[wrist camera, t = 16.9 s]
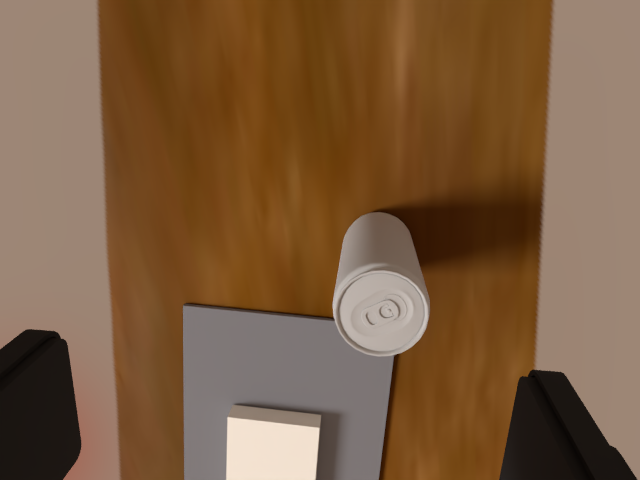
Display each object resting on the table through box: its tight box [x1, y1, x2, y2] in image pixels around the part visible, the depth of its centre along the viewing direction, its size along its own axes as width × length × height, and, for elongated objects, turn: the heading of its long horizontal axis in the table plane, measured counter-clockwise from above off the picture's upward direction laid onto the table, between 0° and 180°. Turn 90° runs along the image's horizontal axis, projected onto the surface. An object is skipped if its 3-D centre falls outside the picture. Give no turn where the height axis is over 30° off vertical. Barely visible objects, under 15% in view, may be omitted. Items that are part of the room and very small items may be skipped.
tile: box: [226, 405, 321, 480], centre depth 41 cm, size 2×7×9 cm
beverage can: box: [333, 212, 430, 357], centre depth 30 cm, size 5×5×12 cm
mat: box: [183, 304, 394, 480], centre depth 41 cm, size 20×16×1 cm
